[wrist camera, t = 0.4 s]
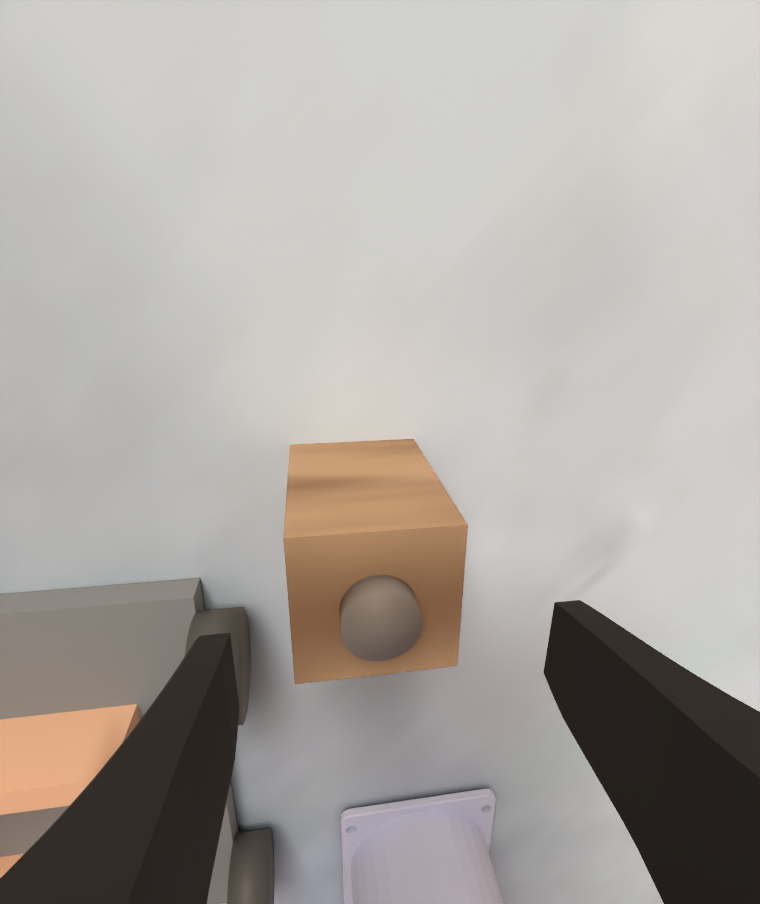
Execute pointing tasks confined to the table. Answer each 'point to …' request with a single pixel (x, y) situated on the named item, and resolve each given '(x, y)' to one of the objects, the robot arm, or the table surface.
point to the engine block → (371, 561)
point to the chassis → (106, 706)
